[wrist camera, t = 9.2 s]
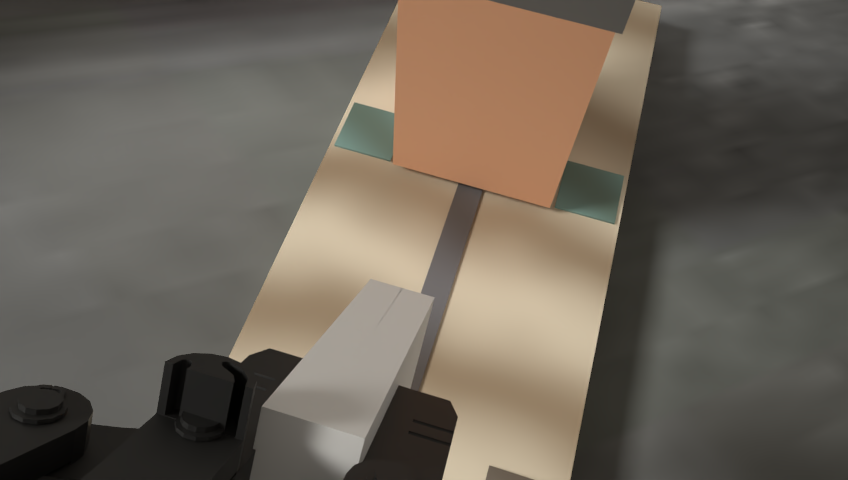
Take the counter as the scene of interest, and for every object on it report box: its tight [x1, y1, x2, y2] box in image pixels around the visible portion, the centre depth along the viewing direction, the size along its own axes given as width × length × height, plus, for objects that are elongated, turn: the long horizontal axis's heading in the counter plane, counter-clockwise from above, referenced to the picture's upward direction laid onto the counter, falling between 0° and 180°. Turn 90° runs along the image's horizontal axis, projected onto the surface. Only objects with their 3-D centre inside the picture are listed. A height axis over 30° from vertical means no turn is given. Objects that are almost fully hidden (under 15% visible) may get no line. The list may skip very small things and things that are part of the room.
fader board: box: [229, 0, 662, 480], centre depth 29 cm, size 30×12×2 cm, turn 163°
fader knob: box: [393, 0, 635, 208], centre depth 25 cm, size 5×7×10 cm
